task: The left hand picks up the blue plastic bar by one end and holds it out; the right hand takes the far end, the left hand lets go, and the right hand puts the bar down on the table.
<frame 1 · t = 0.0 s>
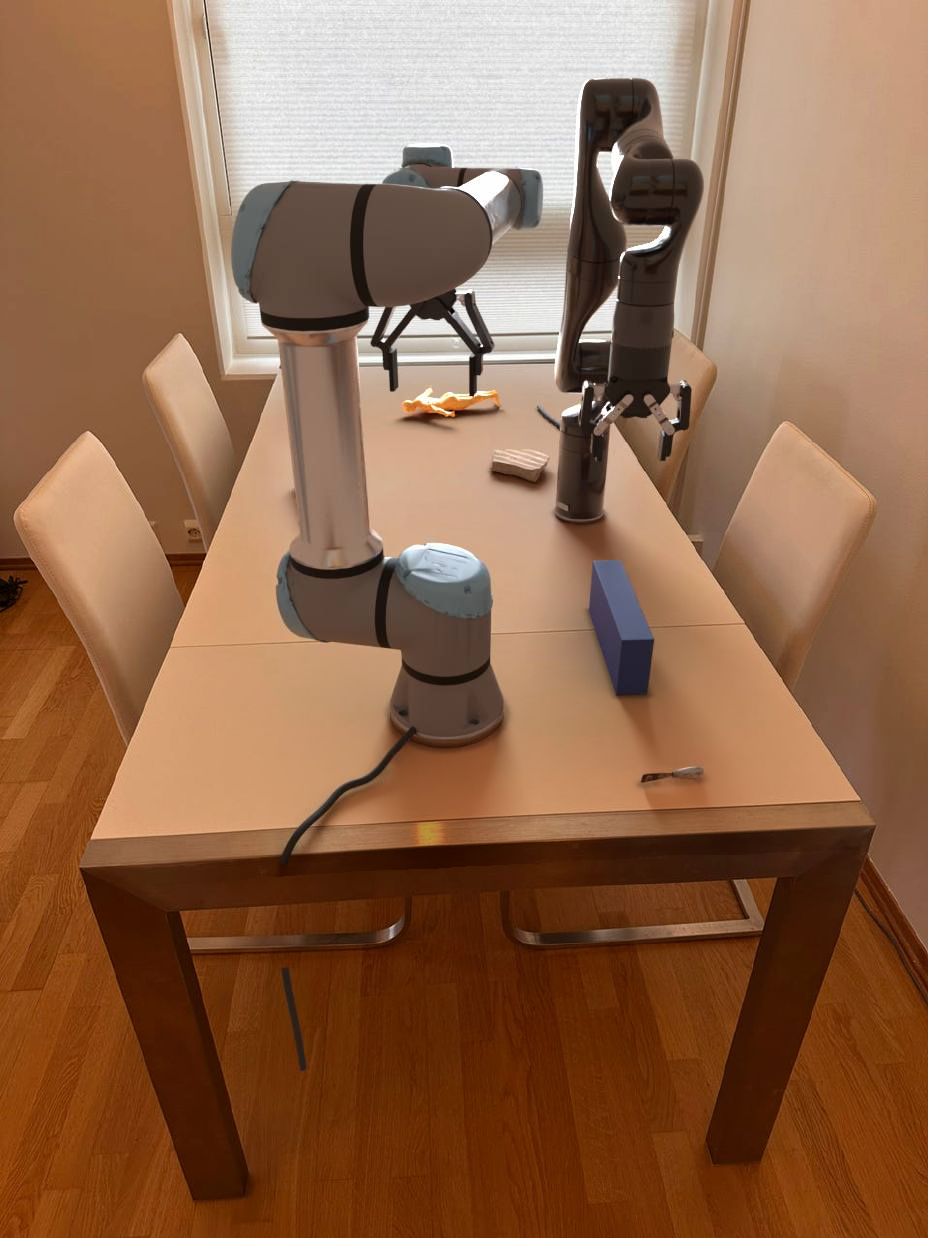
left hand: (433, 391, 149), 28 cm above the table, tool pointing down, fingers open, 13 cm apart
right hand: (629, 459, 120), 29 cm above the table, tool pointing down, fingers open, 8 cm apart
stone: (519, 470, 192), on the table
putty knife: (671, 781, 109), on the table
bar: (615, 649, 134), on the table
handgun: (332, 495, 182), on the table
human figure: (450, 410, 226), on the table
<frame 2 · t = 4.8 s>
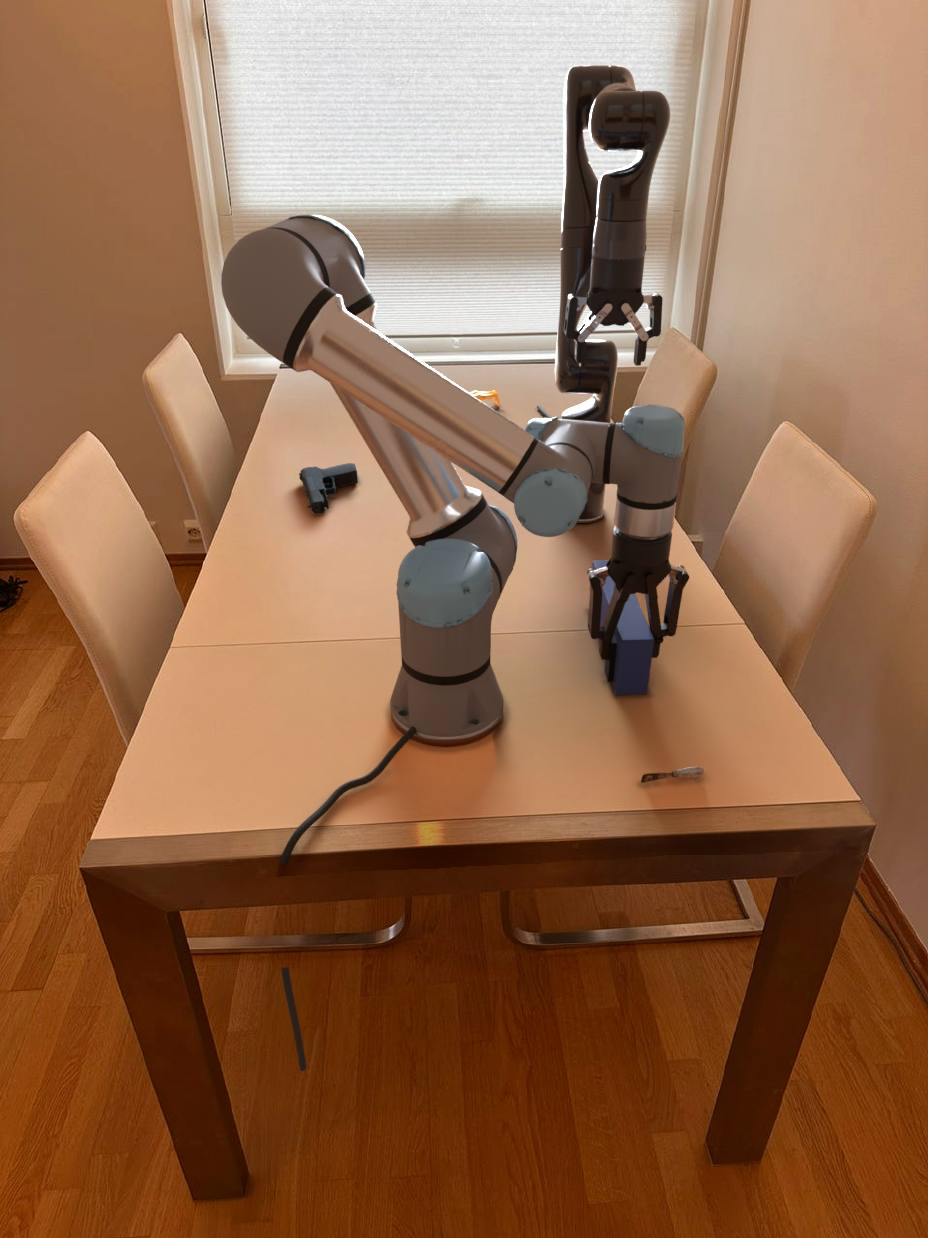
left hand: (626, 675, 127), 1 cm above the table, tool pointing down, fingers closed on bar, 4 cm apart
right hand: (609, 364, 137), 35 cm above the table, tool pointing down, fingers open, 8 cm apart
bar: (615, 649, 134), on the table, touching left hand
everything else where it was.
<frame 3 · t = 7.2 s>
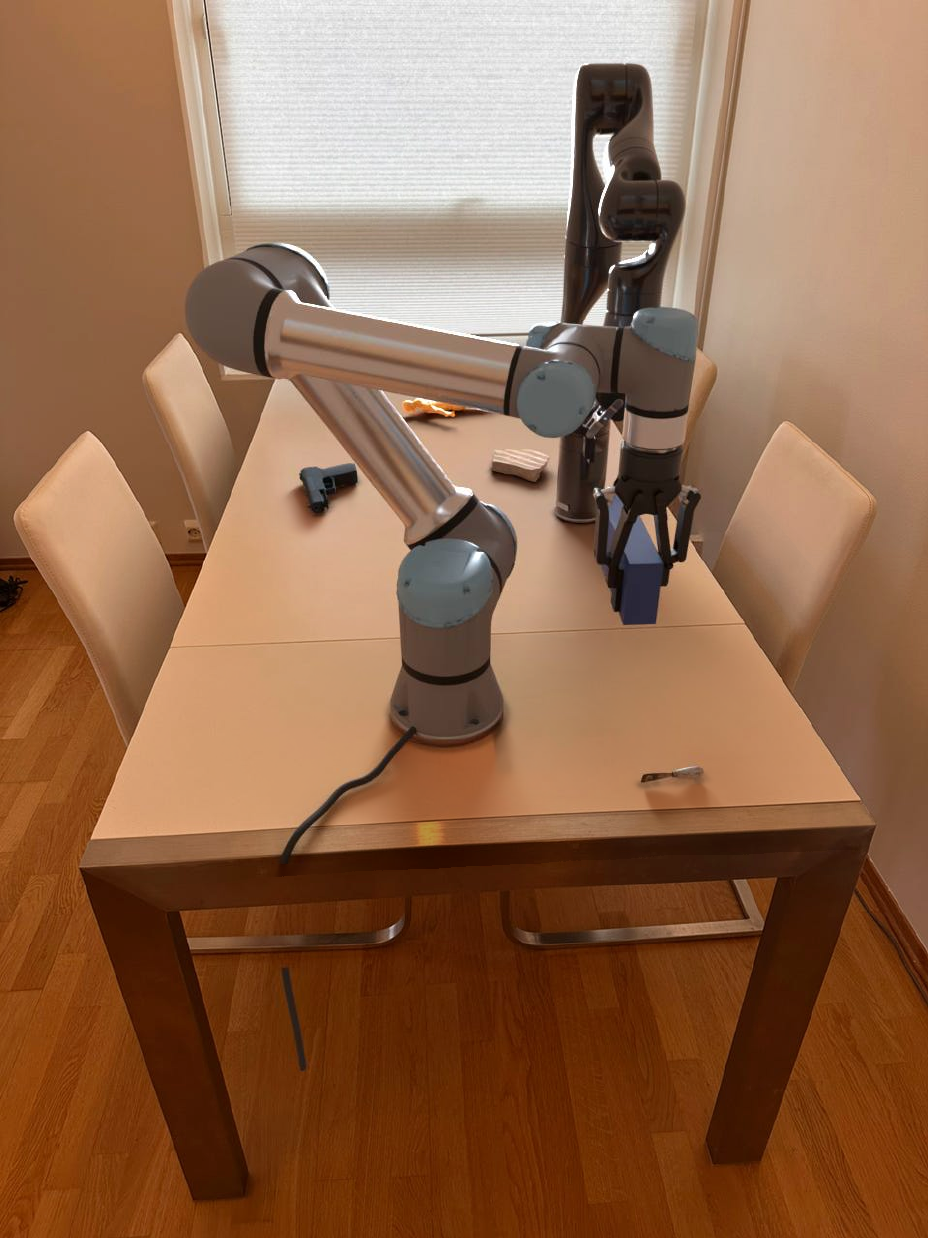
left hand: (633, 606, 121), 12 cm above the table, tool pointing down, fingers closed on bar, 4 cm apart
right hand: (619, 460, 128), 26 cm above the table, tool pointing down, fingers open, 8 cm apart
bar: (622, 582, 128), point 12 cm above the table, touching left hand
everything else where it was.
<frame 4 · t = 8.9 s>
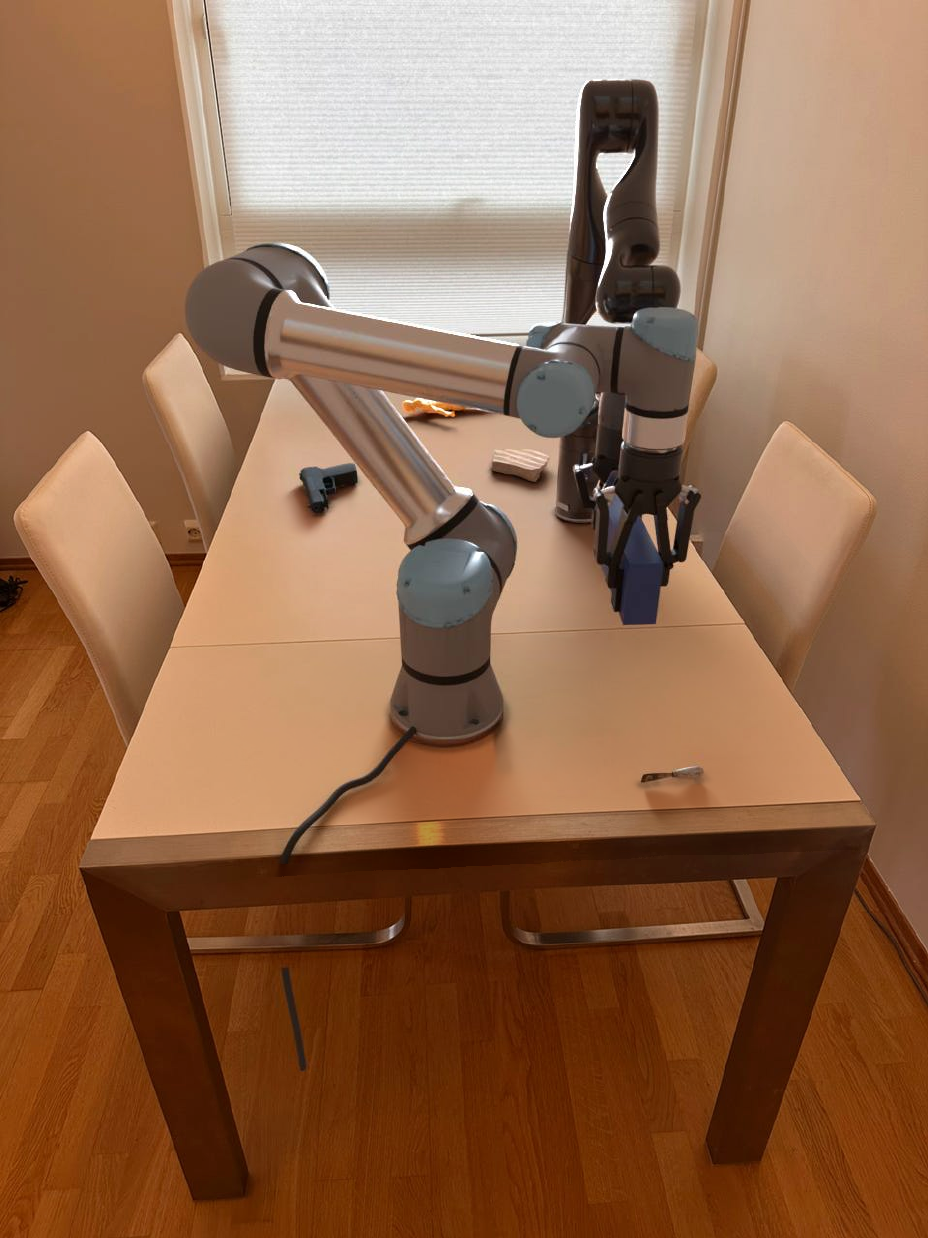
left hand: (633, 606, 121), 12 cm above the table, tool pointing down, fingers closed on bar, 4 cm apart
right hand: (615, 530, 131), 16 cm above the table, tool pointing down, fingers closed on bar, 4 cm apart
bar: (622, 582, 128), point 12 cm above the table, touching left hand, right hand
everything else where it was.
when the left hand's fingers open (12 cm above the table, at t = 9.7 s): bar stays where it is, held by the right hand.
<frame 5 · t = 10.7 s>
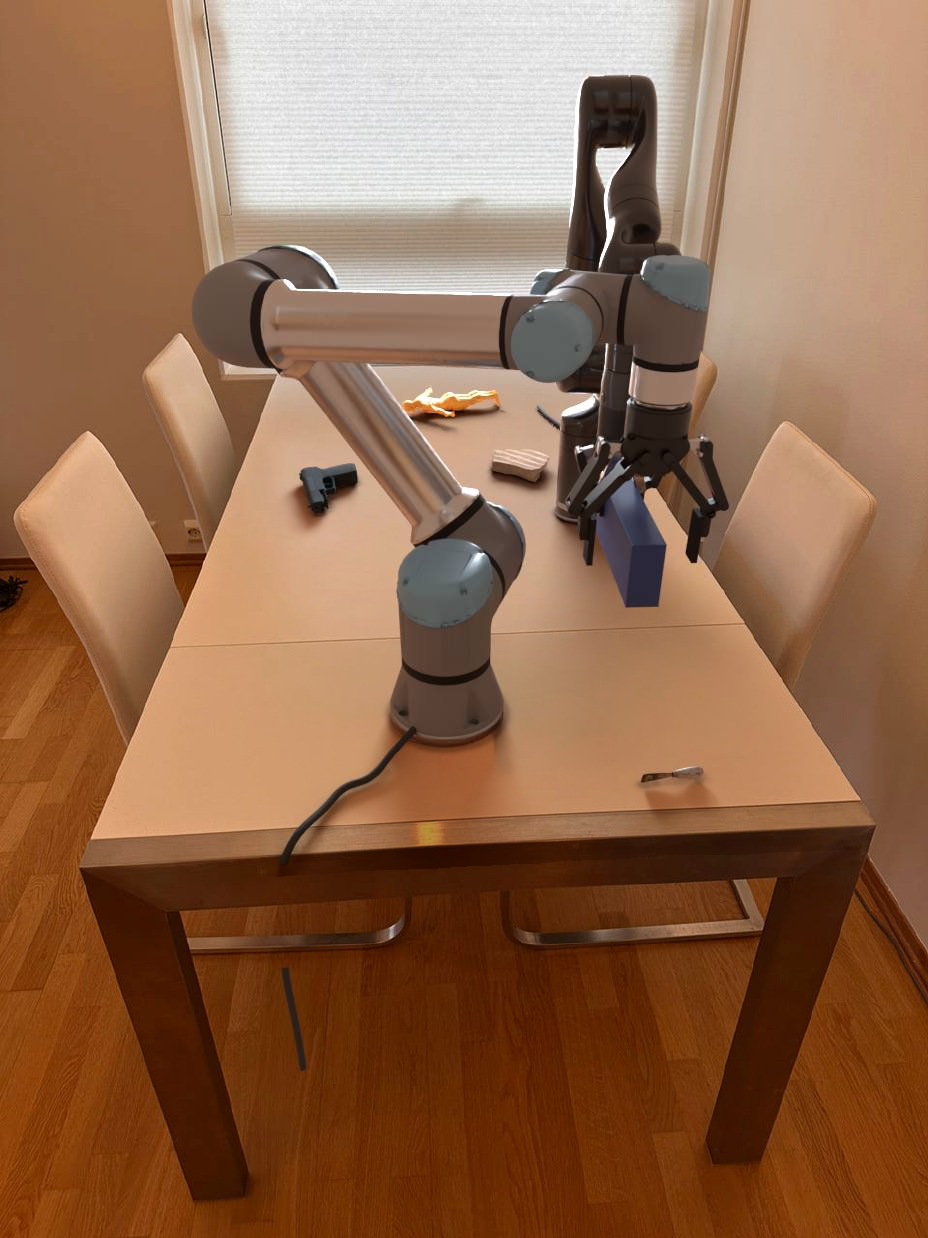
left hand: (639, 559, 115), 20 cm above the table, tool pointing down, fingers open, 13 cm apart
right hand: (616, 513, 130), 19 cm above the table, tool pointing down, fingers closed on bar, 4 cm apart
bar: (624, 565, 126), point 14 cm above the table, touching right hand
everything else where it was.
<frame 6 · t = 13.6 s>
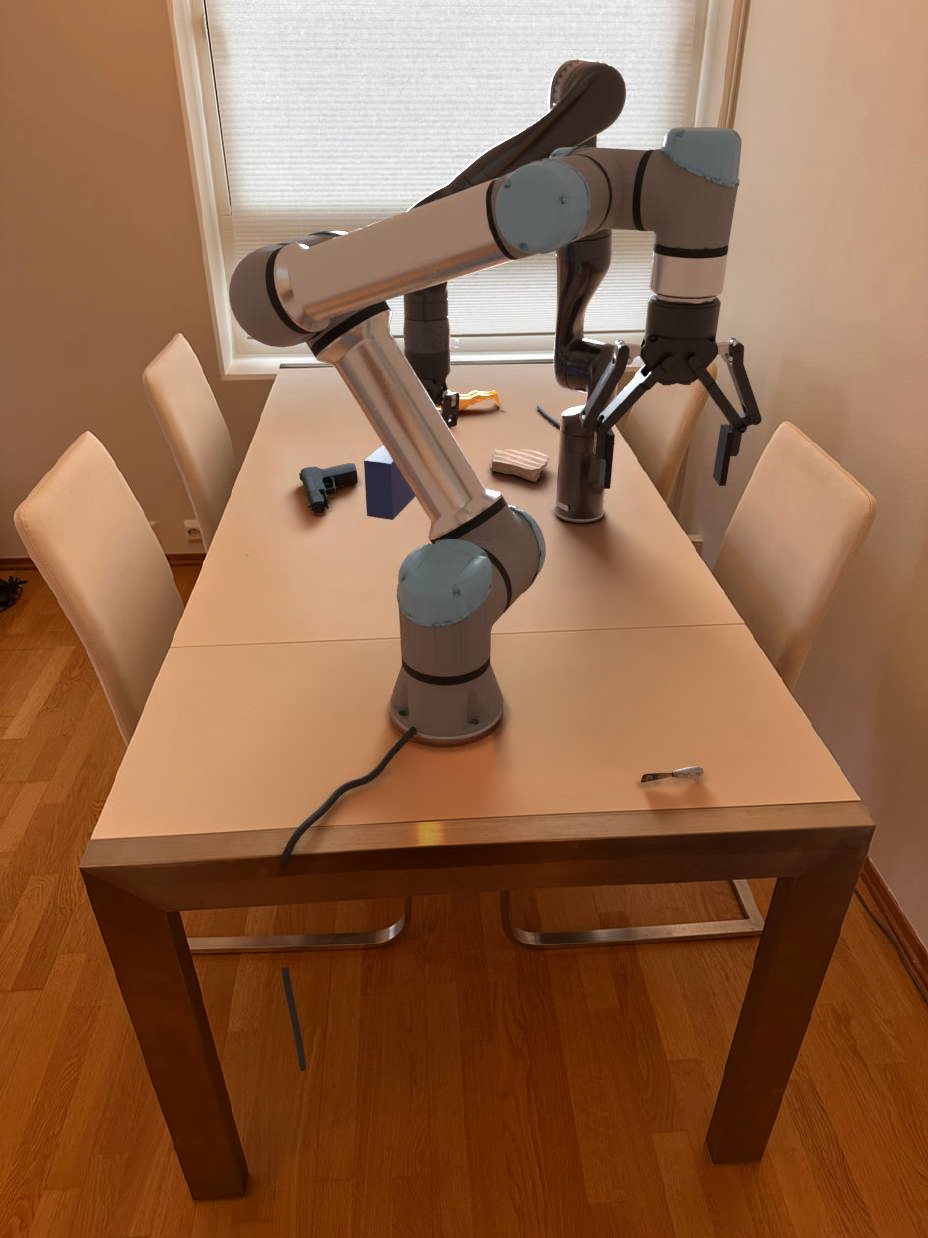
left hand: (662, 483, 105), 33 cm above the table, tool pointing down, fingers open, 13 cm apart
right hand: (429, 444, 153), 19 cm above the table, tool pointing down, fingers closed on bar, 5 cm apart
bar: (407, 490, 147), point 15 cm above the table, touching right hand
everything else where it was.
when the right hand's fingers open (6 cm above the table, at t = 16.5 s): bar drops 2 cm, on the table.
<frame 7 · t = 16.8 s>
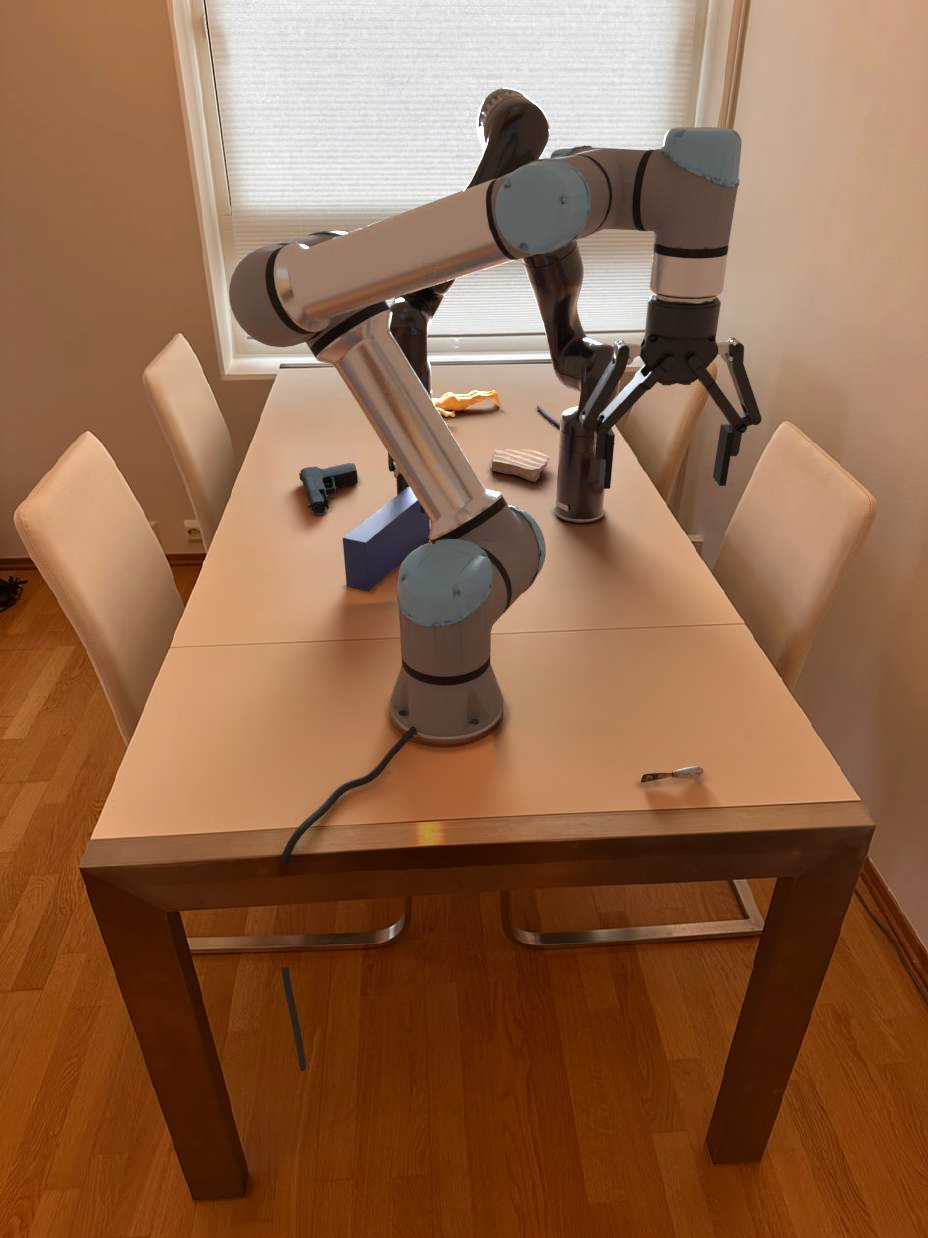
left hand: (662, 483, 105), 33 cm above the table, tool pointing down, fingers open, 13 cm apart
right hand: (415, 504, 162), 7 cm above the table, tool pointing down, fingers open, 8 cm apart
bar: (390, 560, 158), on the table
everything else where it was.
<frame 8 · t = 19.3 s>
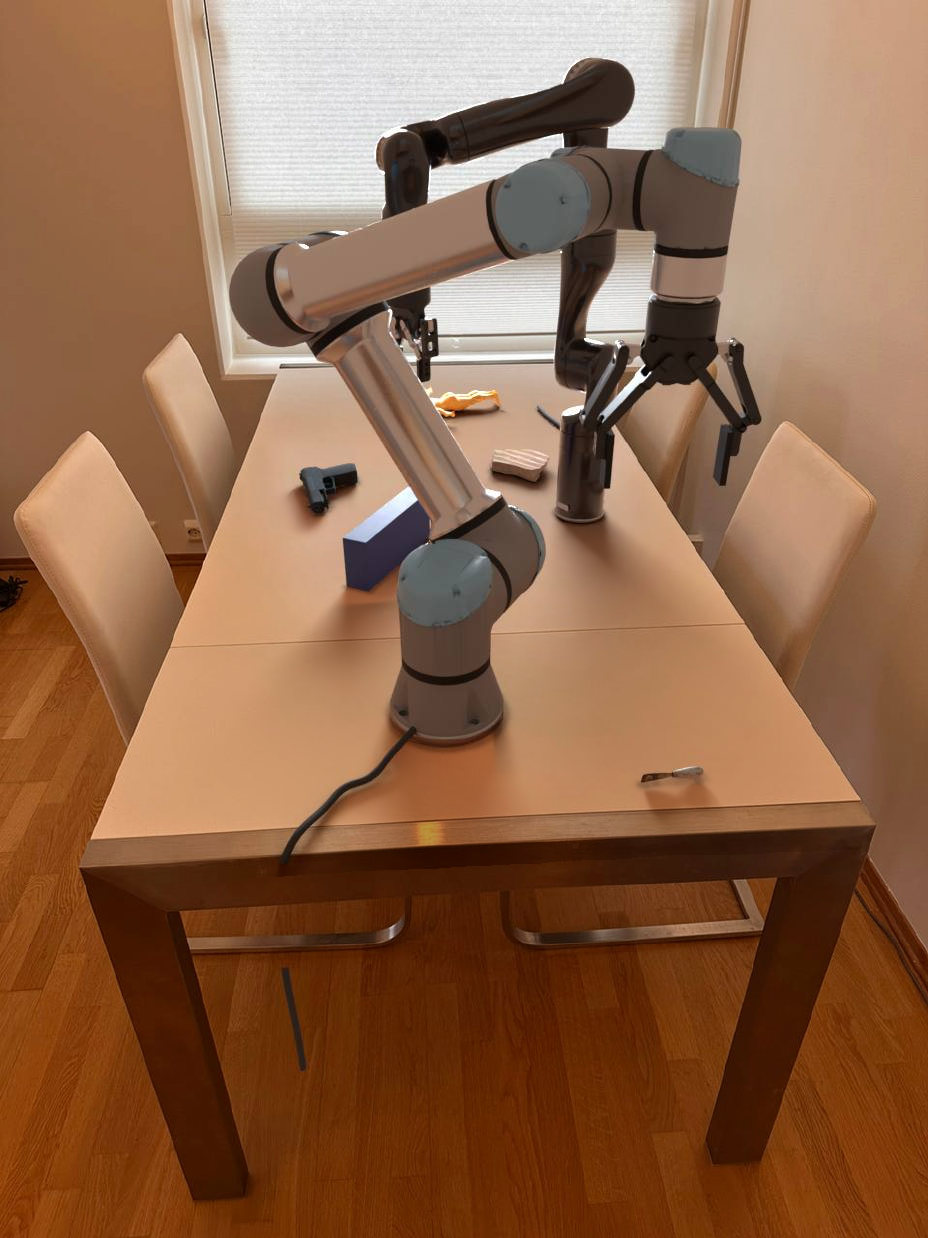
left hand: (662, 483, 105), 33 cm above the table, tool pointing down, fingers open, 13 cm apart
right hand: (410, 375, 149), 30 cm above the table, tool pointing down, fingers open, 8 cm apart
nothing on the table moved.
at the end: bar inside the target area (9.7 cm from its centre), on the table; the left hand is holding nothing; the right hand is holding nothing; bar at rest at the end (0.0 cm/s) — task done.
